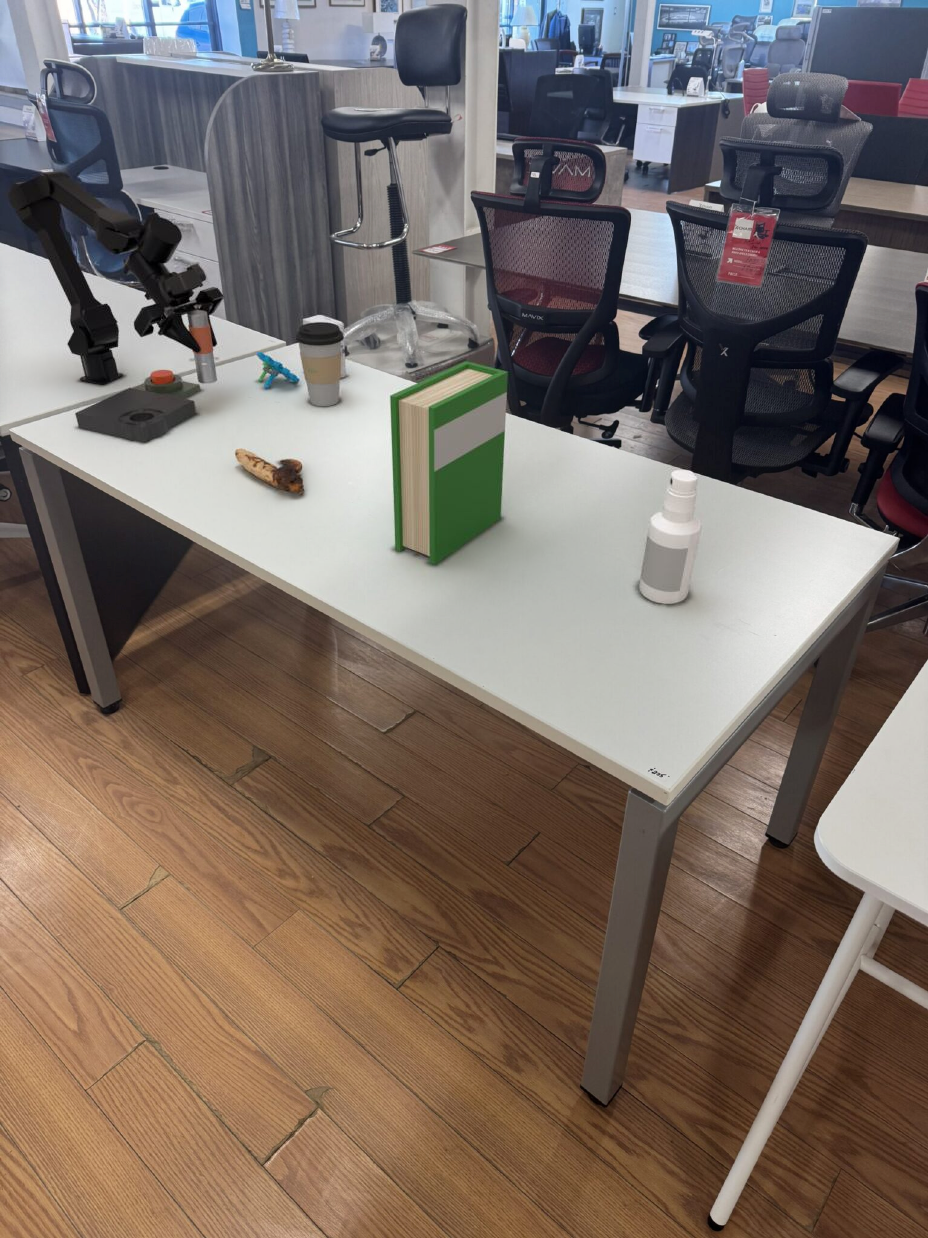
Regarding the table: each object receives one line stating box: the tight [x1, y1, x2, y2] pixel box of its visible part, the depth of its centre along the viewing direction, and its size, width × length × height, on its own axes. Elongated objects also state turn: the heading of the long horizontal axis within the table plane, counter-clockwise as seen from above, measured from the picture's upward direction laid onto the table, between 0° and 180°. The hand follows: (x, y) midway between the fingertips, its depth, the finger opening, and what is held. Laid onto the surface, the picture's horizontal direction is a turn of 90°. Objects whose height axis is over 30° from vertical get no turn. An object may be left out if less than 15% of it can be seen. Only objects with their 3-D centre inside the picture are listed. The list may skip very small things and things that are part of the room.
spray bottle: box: [638, 469, 703, 605], centre depth 114 cm, size 7×7×18 cm
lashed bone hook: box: [234, 448, 305, 495], centre depth 145 cm, size 9×5×18 cm
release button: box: [150, 369, 174, 384], centre depth 175 cm, size 4×4×2 cm
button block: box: [133, 373, 201, 399], centre depth 176 cm, size 11×9×3 cm
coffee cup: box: [295, 322, 345, 407], centre depth 171 cm, size 9×9×15 cm
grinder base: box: [74, 387, 197, 443], centre depth 164 cm, size 17×15×3 cm
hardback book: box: [389, 360, 509, 566], centre depth 125 cm, size 18×7×24 cm, turn 145°
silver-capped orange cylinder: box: [186, 310, 220, 385], centre depth 162 cm, size 6×6×13 cm
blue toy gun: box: [256, 351, 300, 389], centre depth 181 cm, size 11×6×10 cm
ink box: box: [302, 314, 347, 379], centre depth 185 cm, size 9×5×12 cm, turn 47°
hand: (207, 348), depth 162 cm, fingers closed on silver-capped orange cylinder, 4 cm apart
